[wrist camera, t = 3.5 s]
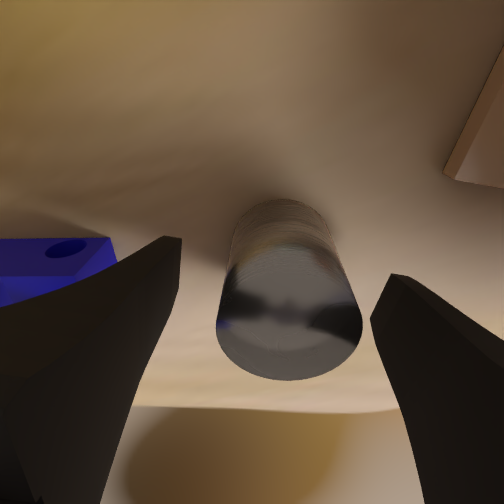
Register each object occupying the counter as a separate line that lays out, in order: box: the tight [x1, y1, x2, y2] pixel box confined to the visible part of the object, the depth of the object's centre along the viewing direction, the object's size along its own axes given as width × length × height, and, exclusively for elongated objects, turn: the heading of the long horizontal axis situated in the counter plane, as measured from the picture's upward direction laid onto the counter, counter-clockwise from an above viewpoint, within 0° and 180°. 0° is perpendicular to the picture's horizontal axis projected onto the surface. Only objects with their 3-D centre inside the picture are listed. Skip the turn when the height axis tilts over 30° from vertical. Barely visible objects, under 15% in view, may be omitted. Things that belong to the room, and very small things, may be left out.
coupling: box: [216, 199, 363, 381], centre depth 11 cm, size 4×4×5 cm
